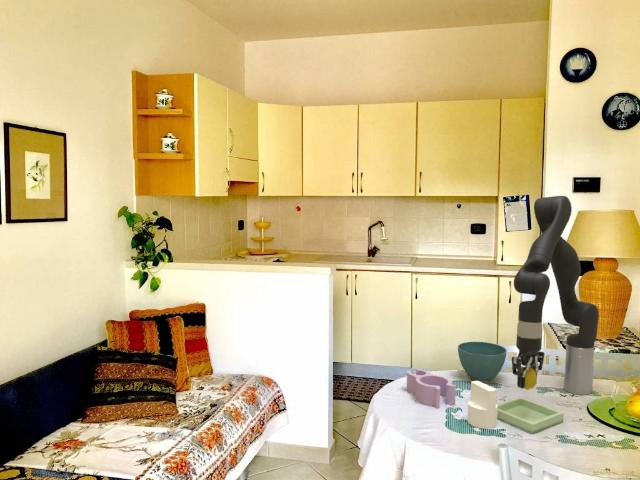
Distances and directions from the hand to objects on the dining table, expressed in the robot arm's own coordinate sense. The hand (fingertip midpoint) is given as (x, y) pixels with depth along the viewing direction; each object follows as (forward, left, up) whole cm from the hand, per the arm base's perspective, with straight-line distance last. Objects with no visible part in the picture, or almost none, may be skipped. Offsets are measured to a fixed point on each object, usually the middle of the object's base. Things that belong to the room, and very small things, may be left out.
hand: (526, 385), depth 174 cm
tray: (0, 0, -11) cm, 11 cm away
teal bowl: (-18, -33, -11) cm, 39 cm away
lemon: (0, 0, -2) cm, 2 cm away
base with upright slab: (+14, -6, -11) cm, 19 cm away
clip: (+13, -30, -11) cm, 35 cm away
